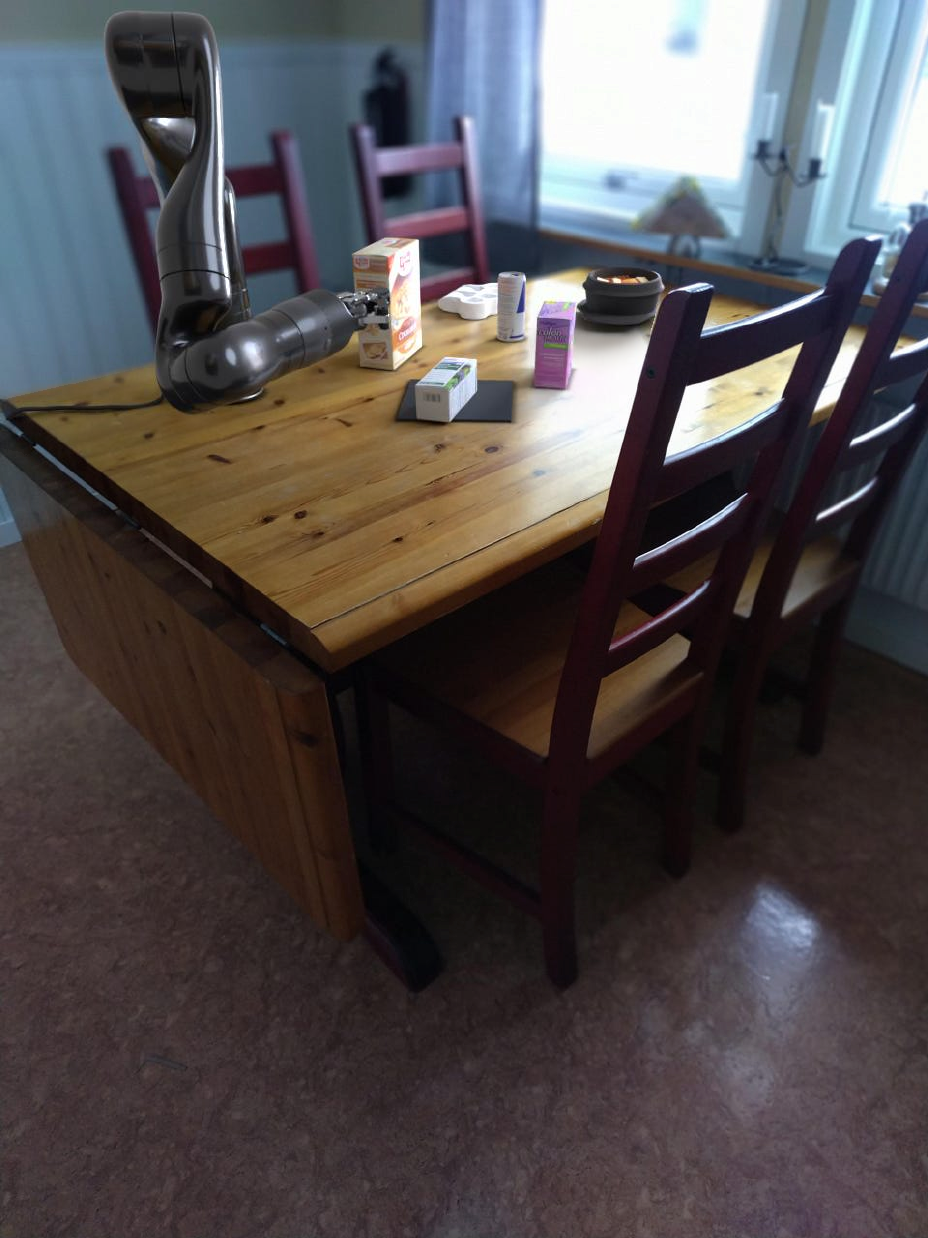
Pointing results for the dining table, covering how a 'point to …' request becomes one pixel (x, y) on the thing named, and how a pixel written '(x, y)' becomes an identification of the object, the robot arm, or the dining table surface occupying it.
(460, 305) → the white cupped tray
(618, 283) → the casserole
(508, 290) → the energy drink
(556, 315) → the box
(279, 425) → the dining table surface
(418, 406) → the syrup box
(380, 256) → the coffeecake box
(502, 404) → the mat
